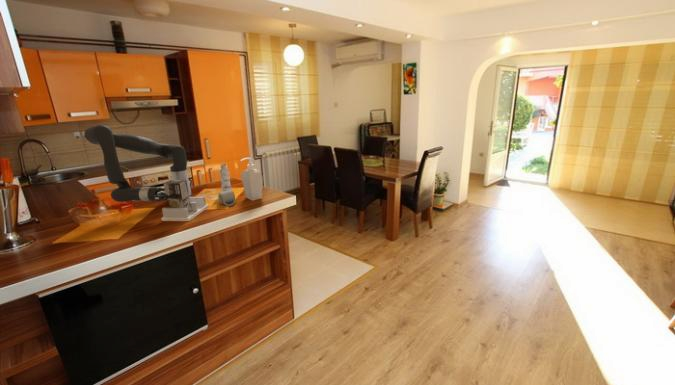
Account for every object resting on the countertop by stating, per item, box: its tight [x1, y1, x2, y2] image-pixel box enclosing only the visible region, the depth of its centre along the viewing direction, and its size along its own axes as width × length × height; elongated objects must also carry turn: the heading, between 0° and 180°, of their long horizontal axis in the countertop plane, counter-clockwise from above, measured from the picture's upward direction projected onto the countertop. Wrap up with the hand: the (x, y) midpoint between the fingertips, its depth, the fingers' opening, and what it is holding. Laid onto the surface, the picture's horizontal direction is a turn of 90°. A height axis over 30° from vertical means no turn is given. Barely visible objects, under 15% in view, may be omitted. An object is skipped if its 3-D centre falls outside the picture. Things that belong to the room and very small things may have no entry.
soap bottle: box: [239, 156, 264, 201], centre depth 190 cm, size 12×10×26 cm
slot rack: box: [160, 196, 209, 222], centre depth 169 cm, size 21×15×6 cm
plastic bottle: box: [218, 163, 233, 192], centre depth 200 cm, size 6×7×20 cm
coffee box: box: [163, 179, 191, 210], centre depth 162 cm, size 9×6×16 cm
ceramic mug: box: [217, 189, 236, 207], centre depth 184 cm, size 11×8×8 cm
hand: (181, 194), depth 162 cm, fingers closed on coffee box, 6 cm apart
